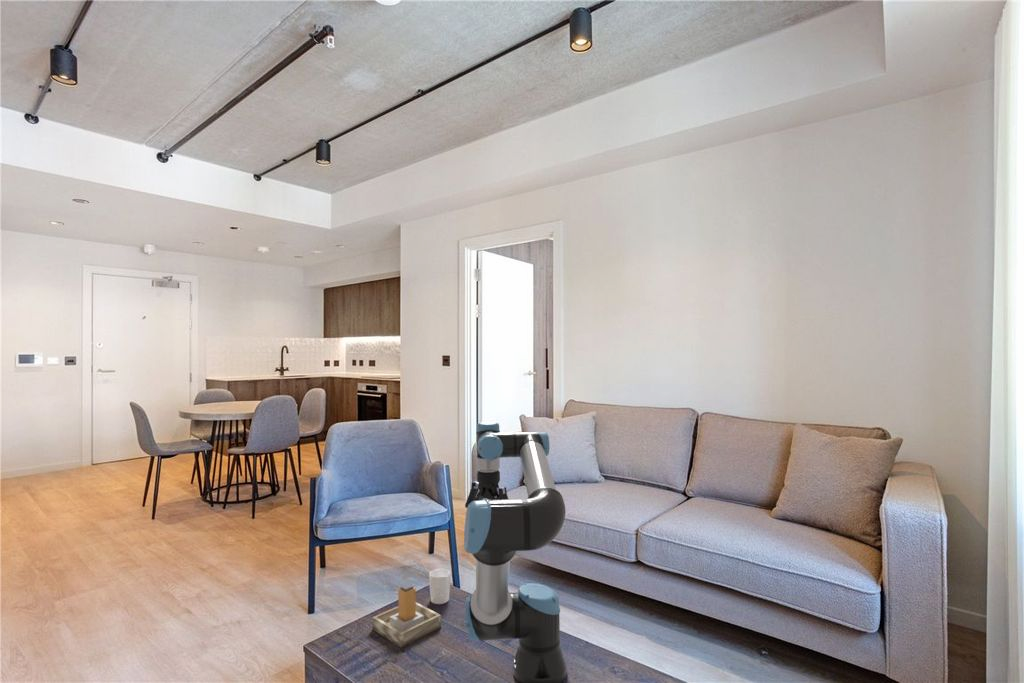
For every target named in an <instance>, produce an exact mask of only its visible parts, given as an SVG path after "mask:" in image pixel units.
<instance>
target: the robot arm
mask: <svg viewBox="0 0 1024 683" xmlns="http://www.w3.org/2000/svg"><path fill="white" fill-rule="evenodd" d="M475 434H476V469H477V471H476V481H472V482H471V484H470V485H471V487H470V488H471V489H470V490H469V493H468V496H467V499H466V502H465V504H464V508H465V509H466V512H465V519H464V520H465V521H464V522H465V523H464V532H463V533H464V535H463V536H464V537H463V542H464V543H463V546H464V550H465V552H466V553H467V554H468V553H469V554H472V556H473V558H474V559H475V561H476V562H475V590H473V593H471V594H468V595H466V598H465V604H464V605H465V610H464V612H465V622H466V623H465V624H466V632H467V636H468V638H469V639H470V640H471V641H474V642H475V641H477V642H486V641H499V640H502V641H503V640H515V639H516V640H517V639H518V647H517V650H516V653H515V657H514V660H513V663H512V664H513V665H512V673H513V677H514V678H515V679H516V681H517V682H518V683H562V682H564V681H565V680H566V676H567V663H566V659H565V658H564V655H563V652H562V651H563V650H562V648H561V642H560V641H561V637H560V636H561V634H560V633H561V630H560V629H561V628H560V624H561V622H560V613H561V608H560V598H559V596H558V593H557V592H556V591H555V590H554V589H552V587H549V586H547V585H544V584H542V583H534V582H532V583H531V582H529V583H528V582H527V583H525V584H521V585H520V586H519V587H518V590H517V592H510V591H509V581H510V580H509V579H510V567H511V560H512V559H513V558H514V557H515V555H516V553H517V552H521V551H526V552H527V551H535V550H540V549H542V548H544V547H546V546H547V545H549V544H550V543H551V542H552V541H554V540H555V538H556V537H558V535H559V533H560V531H561V530H562V528H563V525H564V523H565V521H566V520H565V518H566V505H565V500H564V497H563V495H562V494H561V493H560V492H559V490H558V489H557V488H556V485H555V482H554V477H553V475H552V471H551V468H550V464H549V462H548V461H549V460H548V458H547V456H548V455H550V437H549V435H548V433H547V432H544V431H543V432H542V431H533V432H532V431H530V432H529V431H528V432H526V431H525V432H501V431H500V423H498V422H495V421H482V422H479V423H477V425H476V432H475ZM503 458H520V462H521V468H522V473H523V476H524V477H523V478H524V482H525V487H526V488H525V489H526V493H527V498H513V499H512V498H509V497H508V494H507V493H508V492H507V487H506V486H503V487H499V483H500V481H501V470H500V468H501V466H500V464H501V463H500V462H501V461H500V459H503Z"/></svg>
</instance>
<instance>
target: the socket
mask: <svg viewBox="0 0 1024 683" xmlns="http://www.w3.org/2000/svg"><path fill="white" fill-rule="evenodd" d="M422 622H424V615H422V614H420V613H418V612H416V617H415V618H413V619H410V620H408V621H406V622H404V621H402V620H400V619H399V618H398V613H397V614H395V615H392V616H390V625H391V626H392V627H394V628H396V629H397V630H399V631H401V632H403V631H405V630H407V629H409V628H412V627H414V626H416V625H418V624H420V623H422Z"/></svg>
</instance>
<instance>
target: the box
mask: <svg viewBox="0 0 1024 683" xmlns="http://www.w3.org/2000/svg"><path fill="white" fill-rule="evenodd" d="M416 612H418V613H420V614H422V615H424V622H422V623H420V624H418V625H416V626H414V627H412V628H409V629H407V630H405V631H403V632H401V631H399V630H397V629H396V628H394V627H392V626H391V625H390V616H392V615H395V614H397V613H398V606H394V607H393V608H391V609H388V610H386V611H384V612H381V613H379V614H377V615H375V616H372V618H371V620H372V622H371V625H372V631H374V632H376V633H377V634H379V635H381V636H382V637H384V638H385V639H386V640H388V641H390V642H391V643H393V644H395V645H396V646H398V648H404V647H406V646H408V645H409V644H411V643H413V642H416V641H417V640H419V639H422V638H423V637H425V636H427V635H429V634H431V633H432V632H434V631H436V630H438V629H440V628H441V627H442V615H441V614H439V612H436V611H434V610H432V609H430V608H429V607H427V606H425V605H423V604H421V603H419V602H417V601H416Z"/></svg>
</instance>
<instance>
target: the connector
mask: <svg viewBox="0 0 1024 683" xmlns="http://www.w3.org/2000/svg"><path fill="white" fill-rule="evenodd" d="M397 590H398V591H397V592H398V594H397V596H398V598H397V600H398V618H399V619H400V620H402V621H404V622H406V621H408V620H410V619H413V618H415V617H416V602H417V601H416V591H417V590H416V588H415V587H414V586H413V584H412V585H411V584H409V583H406V584H404V585H401V586H400V588H398V589H397Z"/></svg>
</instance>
